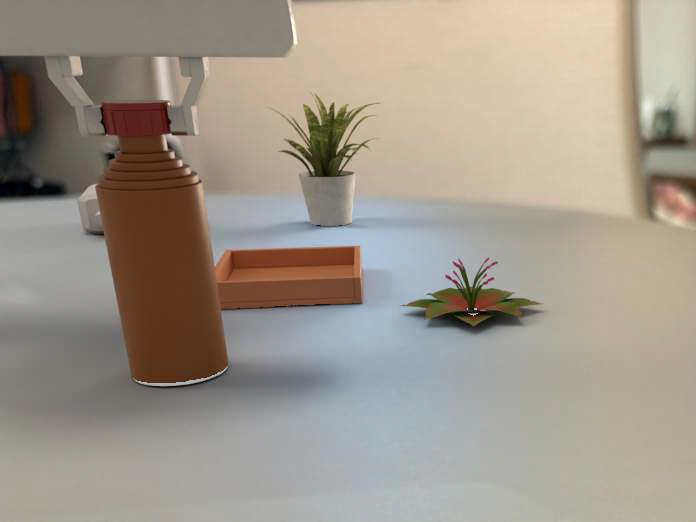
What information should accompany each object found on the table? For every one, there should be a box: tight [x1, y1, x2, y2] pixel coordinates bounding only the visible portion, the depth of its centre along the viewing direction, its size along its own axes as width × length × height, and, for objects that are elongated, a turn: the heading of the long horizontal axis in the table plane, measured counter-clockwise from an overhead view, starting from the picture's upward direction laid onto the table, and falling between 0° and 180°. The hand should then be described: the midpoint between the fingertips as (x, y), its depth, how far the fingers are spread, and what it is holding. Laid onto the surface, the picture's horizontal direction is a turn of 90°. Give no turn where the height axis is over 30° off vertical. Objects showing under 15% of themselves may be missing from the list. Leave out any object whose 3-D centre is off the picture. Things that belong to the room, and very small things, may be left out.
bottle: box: [95, 134, 229, 383], centre depth 57 cm, size 6×6×18 cm
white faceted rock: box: [77, 183, 104, 235], centre depth 104 cm, size 5×9×15 cm
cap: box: [100, 99, 172, 137], centre depth 53 cm, size 4×4×2 cm
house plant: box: [266, 91, 380, 227], centre depth 108 cm, size 14×14×16 cm
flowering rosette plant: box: [398, 256, 544, 327], centre depth 73 cm, size 12×12×5 cm
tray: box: [214, 245, 363, 310], centre depth 81 cm, size 13×13×2 cm
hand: (142, 135), depth 54 cm, fingers closed on cap, 4 cm apart
